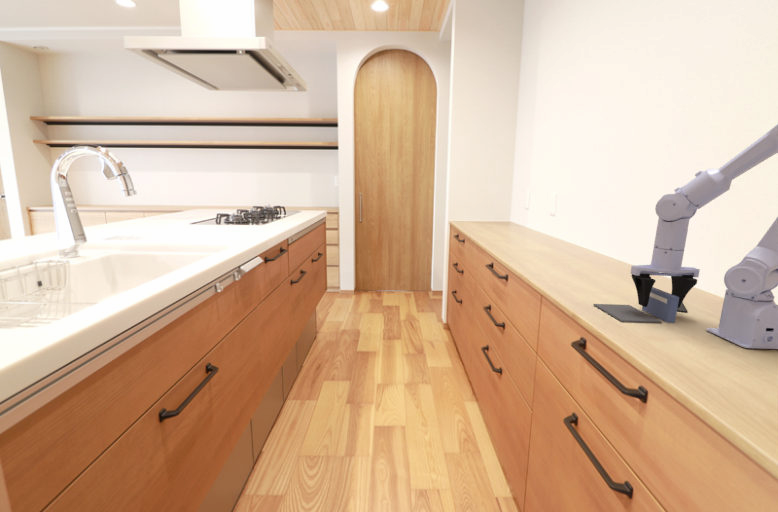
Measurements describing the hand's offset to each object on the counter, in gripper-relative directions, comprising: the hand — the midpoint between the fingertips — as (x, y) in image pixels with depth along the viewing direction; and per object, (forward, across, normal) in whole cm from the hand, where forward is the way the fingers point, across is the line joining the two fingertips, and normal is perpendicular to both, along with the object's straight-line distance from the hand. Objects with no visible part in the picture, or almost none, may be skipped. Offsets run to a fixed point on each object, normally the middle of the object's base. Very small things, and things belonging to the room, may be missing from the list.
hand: (658, 305), depth 93 cm
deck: (+2, 0, 0) cm, 3 cm away
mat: (+2, +7, -1) cm, 7 cm away
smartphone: (+3, -10, -11) cm, 15 cm away
